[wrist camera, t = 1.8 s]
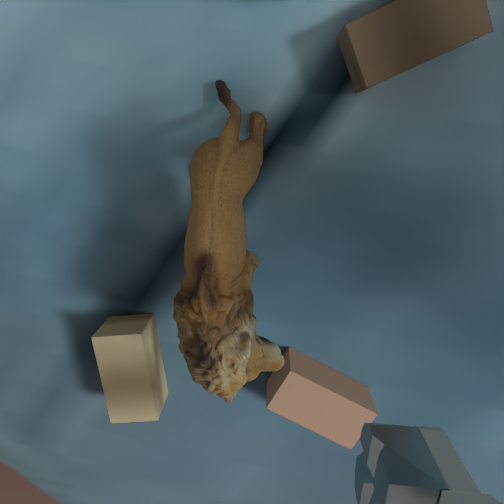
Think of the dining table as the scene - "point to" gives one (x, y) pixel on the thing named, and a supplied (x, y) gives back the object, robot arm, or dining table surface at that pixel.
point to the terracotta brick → (320, 398)
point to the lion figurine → (222, 263)
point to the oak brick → (131, 367)
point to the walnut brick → (408, 36)
